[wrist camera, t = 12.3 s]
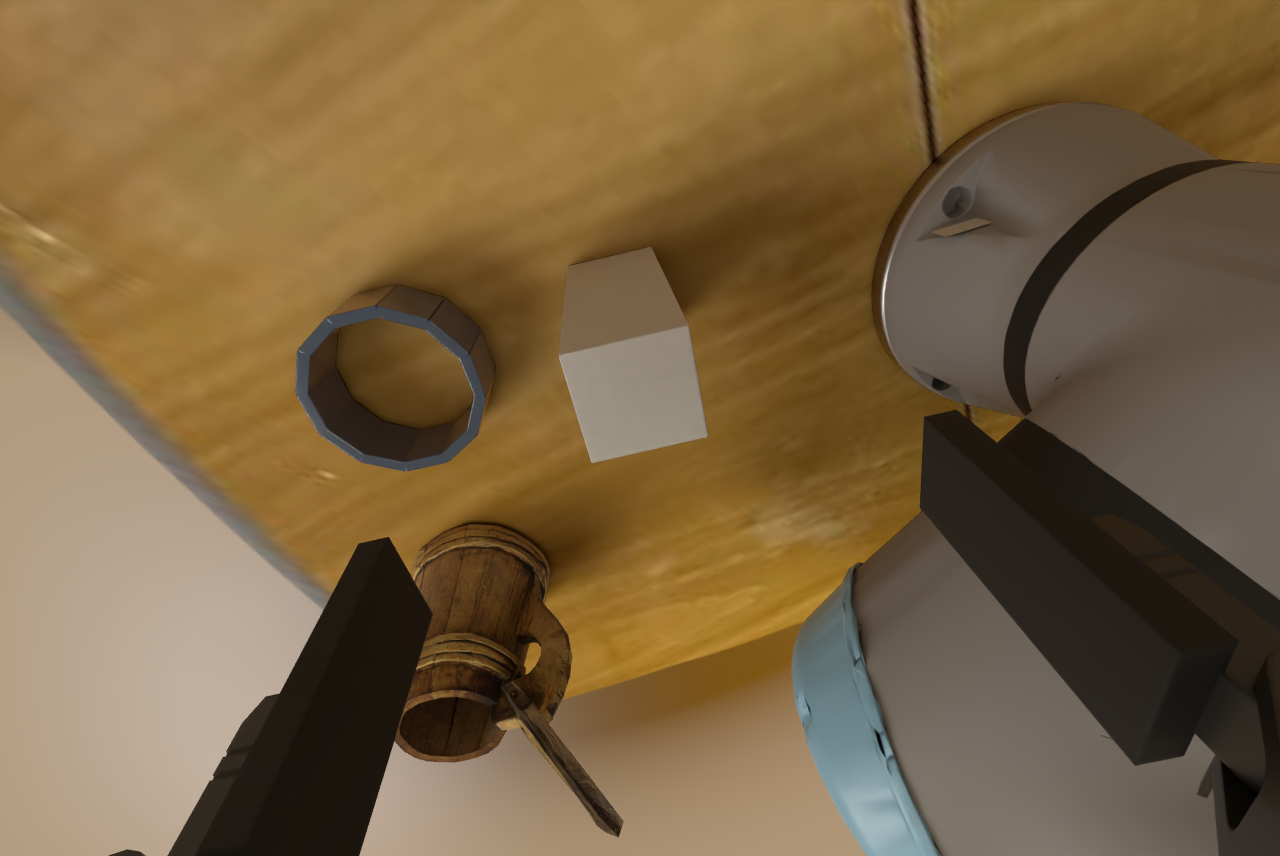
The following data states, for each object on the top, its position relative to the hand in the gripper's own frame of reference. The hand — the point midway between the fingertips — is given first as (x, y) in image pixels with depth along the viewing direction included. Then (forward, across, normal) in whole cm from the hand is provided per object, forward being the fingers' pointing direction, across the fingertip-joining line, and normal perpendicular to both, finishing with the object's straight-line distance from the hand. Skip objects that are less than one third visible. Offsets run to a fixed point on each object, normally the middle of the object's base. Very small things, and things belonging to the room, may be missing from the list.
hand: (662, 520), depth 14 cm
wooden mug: (+19, +11, +16) cm, 27 cm away
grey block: (+19, 0, 0) cm, 19 cm away
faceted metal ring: (+18, +12, +1) cm, 22 cm away
